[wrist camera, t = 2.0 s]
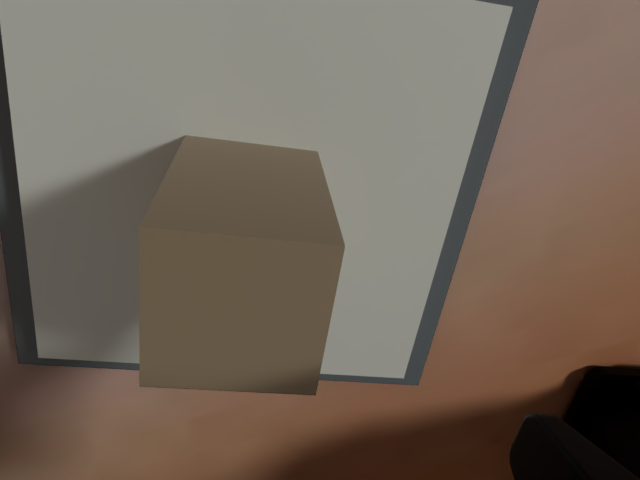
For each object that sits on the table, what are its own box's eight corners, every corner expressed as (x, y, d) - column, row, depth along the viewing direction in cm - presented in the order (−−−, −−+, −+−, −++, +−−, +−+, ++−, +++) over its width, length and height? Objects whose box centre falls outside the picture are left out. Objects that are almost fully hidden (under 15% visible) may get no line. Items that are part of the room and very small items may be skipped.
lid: (398, 363, 19) (454, 528, 13) (47, 341, 17) (-61, 523, 11) (500, 5, 13) (666, 27, 8) (4, -83, 12) (-240, -137, 6)
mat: (415, 378, 20) (418, 385, 19) (23, 355, 17) (18, 363, 17) (540, -31, 13) (548, -31, 13) (-41, -142, 11) (-52, -146, 11)
